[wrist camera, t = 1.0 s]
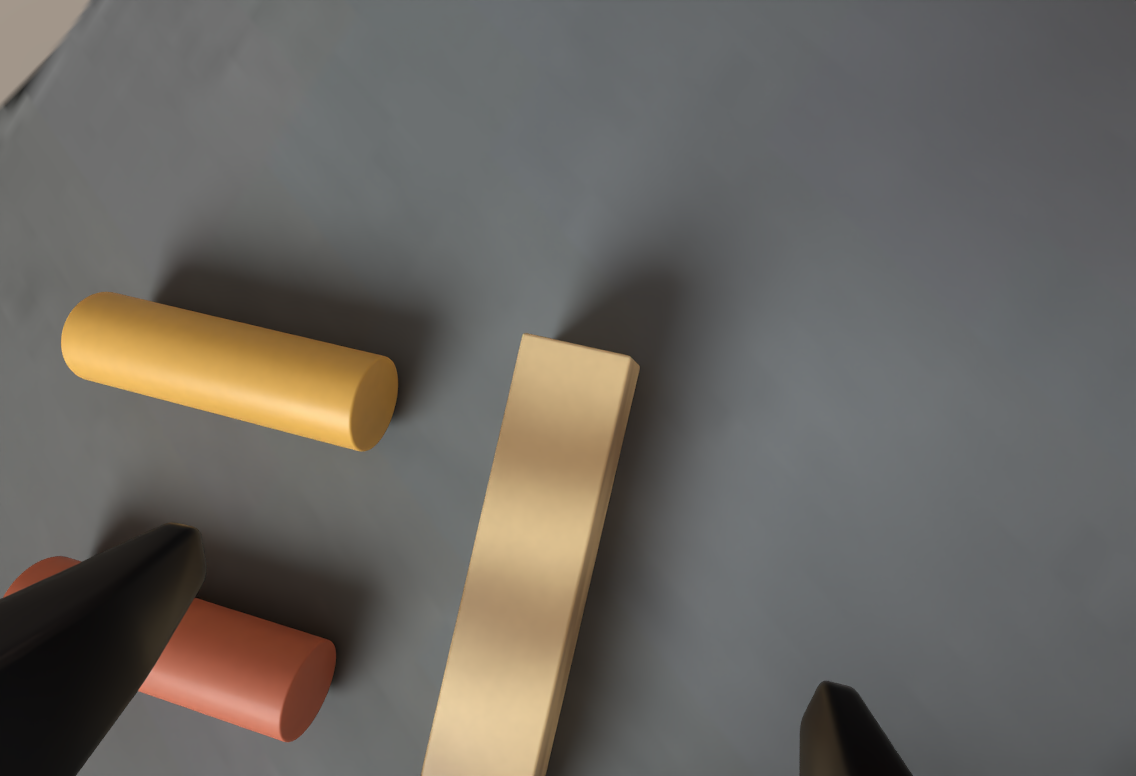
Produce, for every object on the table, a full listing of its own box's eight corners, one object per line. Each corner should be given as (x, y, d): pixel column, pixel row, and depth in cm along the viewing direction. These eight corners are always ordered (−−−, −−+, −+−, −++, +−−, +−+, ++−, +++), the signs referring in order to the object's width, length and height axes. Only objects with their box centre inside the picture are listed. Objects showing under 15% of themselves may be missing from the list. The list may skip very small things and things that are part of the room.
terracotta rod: (324, 716, 23) (270, 761, 20) (69, 630, 25) (-15, 660, 22) (344, 627, 23) (294, 659, 20) (88, 548, 25) (6, 566, 22)
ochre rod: (386, 449, 23) (341, 454, 20) (126, 382, 25) (50, 378, 22) (406, 360, 23) (364, 352, 20) (145, 299, 25) (72, 283, 22)
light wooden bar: (531, 837, 22) (501, 917, 18) (441, 805, 22) (396, 878, 19) (640, 365, 22) (631, 356, 18) (548, 345, 22) (522, 331, 19)
